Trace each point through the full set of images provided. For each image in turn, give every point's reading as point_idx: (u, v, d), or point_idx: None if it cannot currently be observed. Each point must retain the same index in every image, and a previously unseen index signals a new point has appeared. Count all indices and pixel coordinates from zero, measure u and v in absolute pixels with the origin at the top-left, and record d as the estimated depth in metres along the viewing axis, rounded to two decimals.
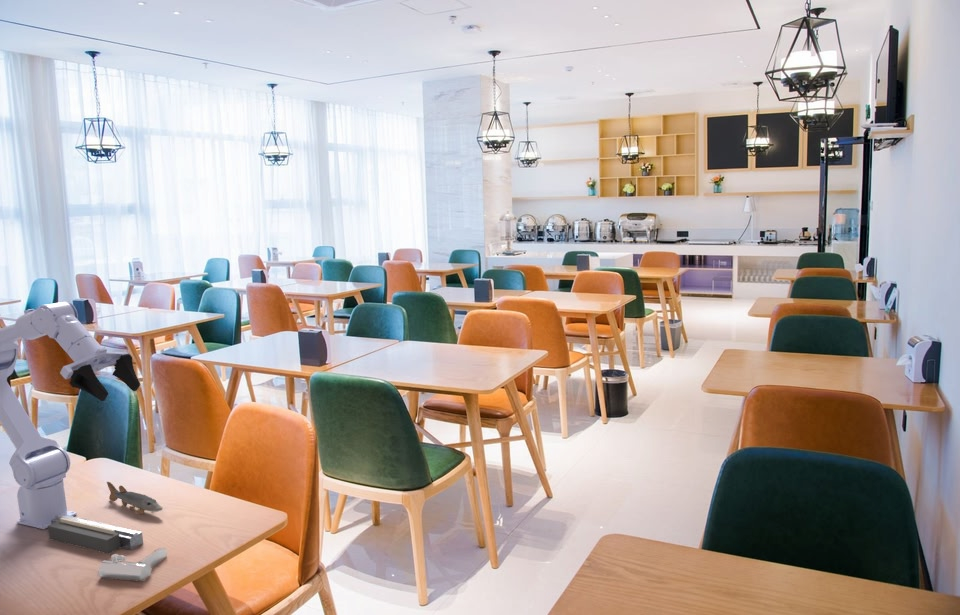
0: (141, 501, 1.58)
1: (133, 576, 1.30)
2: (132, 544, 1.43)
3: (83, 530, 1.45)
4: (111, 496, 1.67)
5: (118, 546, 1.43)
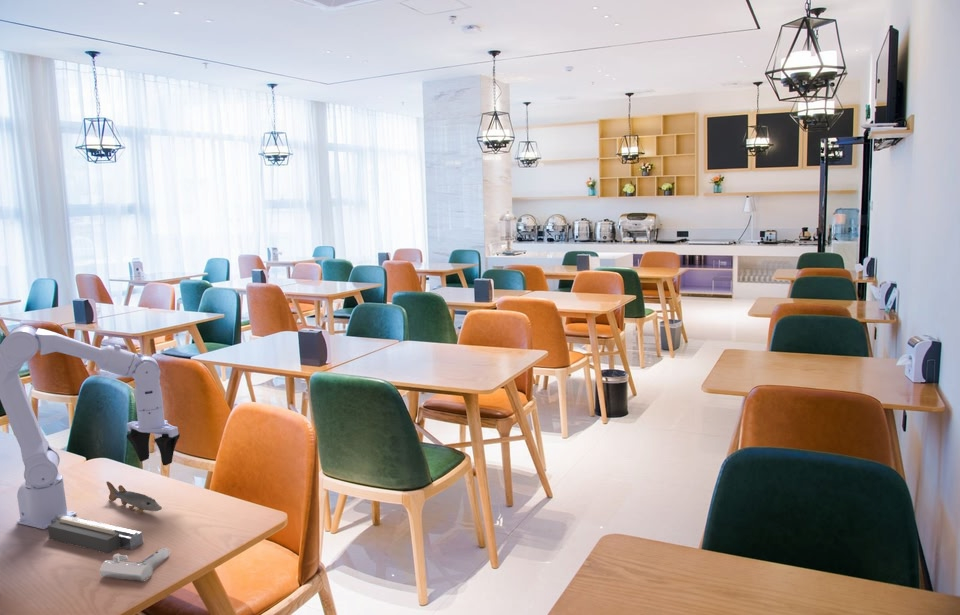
0: (140, 501, 1.58)
1: (134, 576, 1.30)
2: (132, 544, 1.43)
3: (83, 530, 1.45)
4: (111, 496, 1.67)
5: (118, 546, 1.43)
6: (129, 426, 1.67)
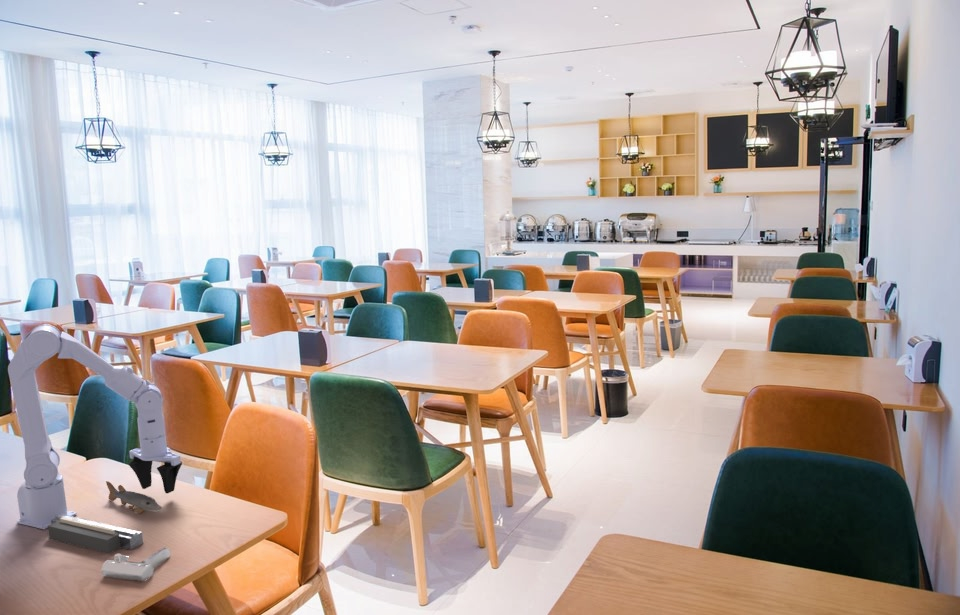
0: (140, 501, 1.59)
1: (135, 576, 1.30)
2: (132, 544, 1.43)
3: (83, 530, 1.45)
4: (110, 496, 1.67)
5: (118, 546, 1.43)
6: (132, 454, 1.68)
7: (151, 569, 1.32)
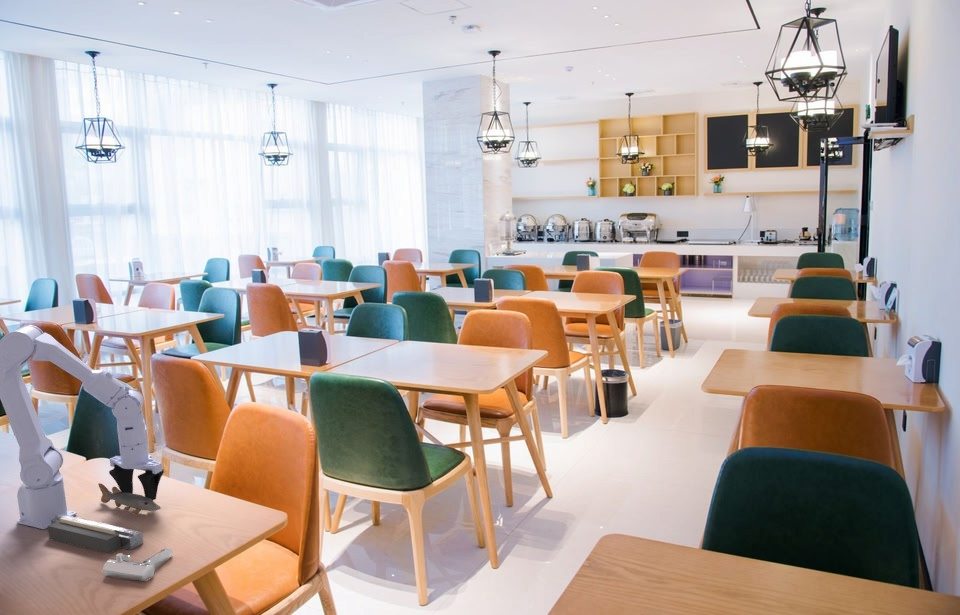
0: (137, 501, 1.58)
1: (136, 576, 1.30)
2: (132, 544, 1.43)
3: (83, 530, 1.45)
4: (103, 498, 1.65)
5: (118, 546, 1.43)
6: (112, 461, 1.63)
7: (152, 569, 1.32)
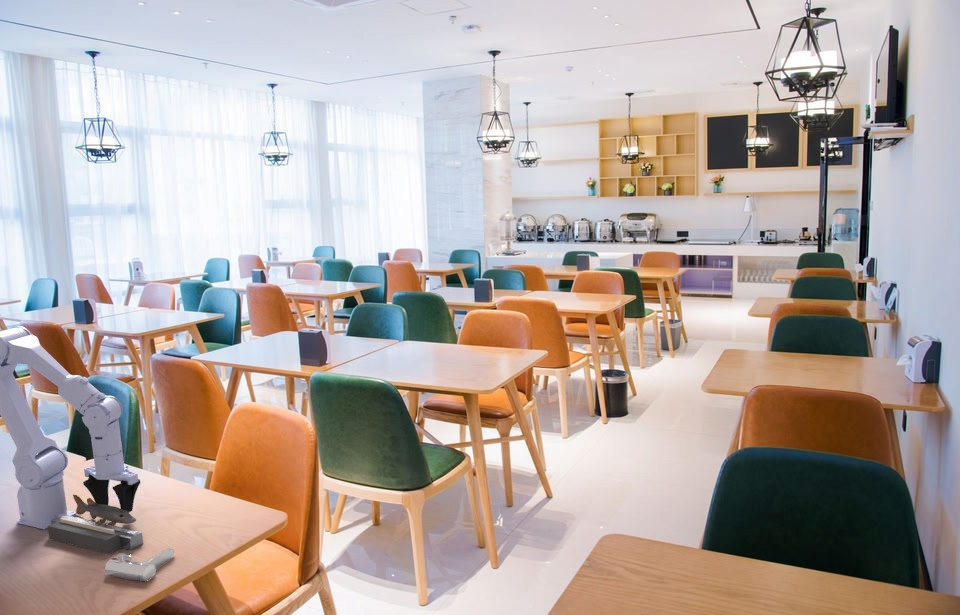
0: (112, 514, 1.52)
1: (137, 576, 1.30)
2: (132, 544, 1.43)
3: (83, 530, 1.45)
4: (78, 509, 1.59)
5: (118, 546, 1.43)
6: (86, 472, 1.57)
7: (153, 569, 1.32)
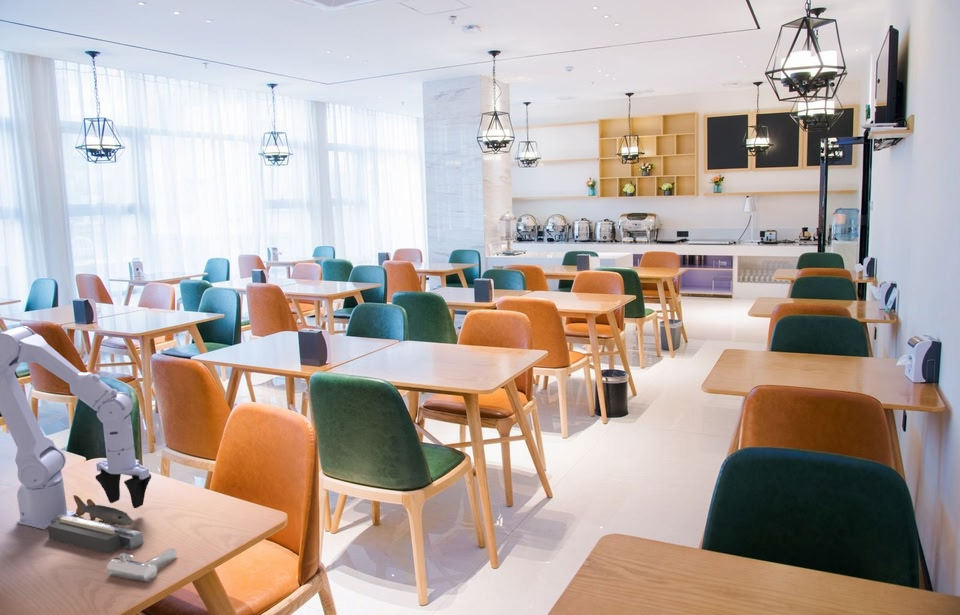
0: (111, 515, 1.52)
1: (138, 576, 1.30)
2: (132, 544, 1.43)
3: (83, 530, 1.45)
4: (78, 510, 1.59)
5: (118, 546, 1.43)
6: (99, 466, 1.60)
7: (155, 570, 1.32)
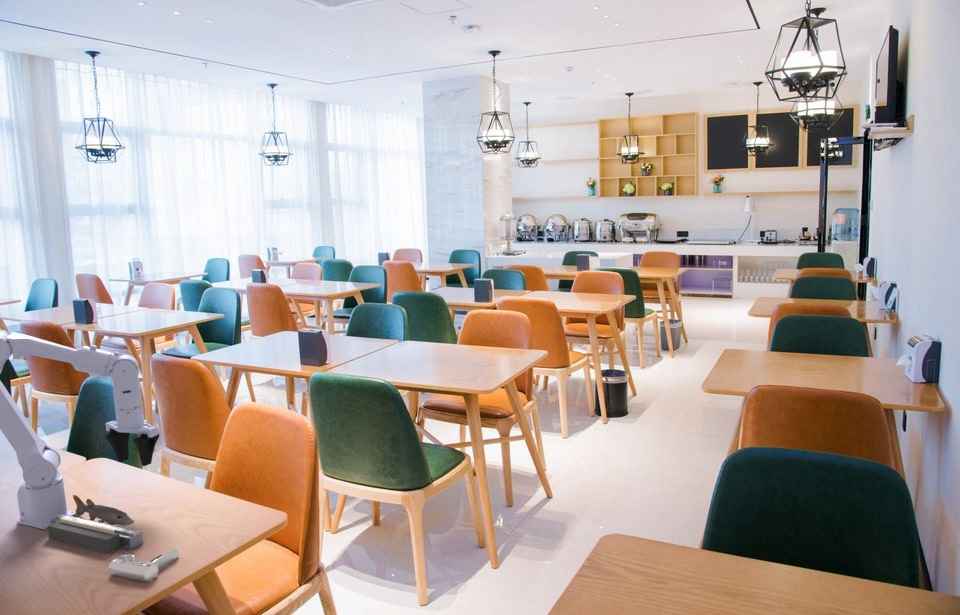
0: (110, 515, 1.52)
1: (139, 576, 1.30)
2: (132, 544, 1.43)
3: (83, 530, 1.45)
4: (78, 510, 1.59)
5: (118, 546, 1.43)
6: (108, 426, 1.64)
7: (156, 570, 1.32)
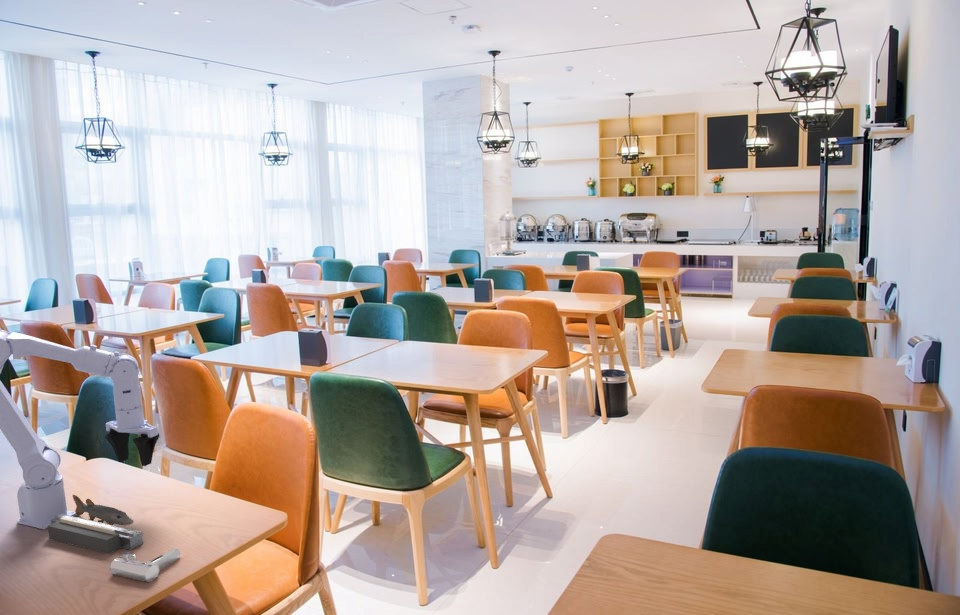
0: (110, 515, 1.52)
1: (140, 576, 1.30)
2: (132, 544, 1.43)
3: (83, 530, 1.45)
4: (77, 510, 1.60)
5: (118, 546, 1.43)
6: (108, 426, 1.64)
7: (156, 570, 1.32)
